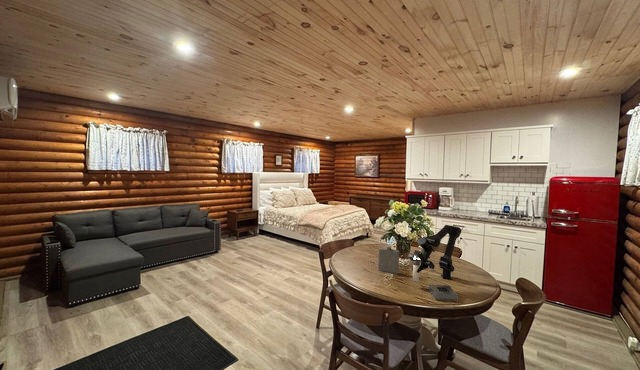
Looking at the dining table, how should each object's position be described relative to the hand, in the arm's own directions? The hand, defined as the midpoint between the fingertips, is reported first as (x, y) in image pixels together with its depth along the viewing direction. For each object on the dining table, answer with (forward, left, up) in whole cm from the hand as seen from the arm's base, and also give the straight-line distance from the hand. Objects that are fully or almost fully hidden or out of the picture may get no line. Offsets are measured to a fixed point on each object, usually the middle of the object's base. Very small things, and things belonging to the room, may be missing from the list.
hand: (414, 271), depth 181 cm
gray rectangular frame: (+10, +15, -11) cm, 21 cm away
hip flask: (-26, -13, -11) cm, 31 cm away
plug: (-1, +1, -7) cm, 7 cm away
